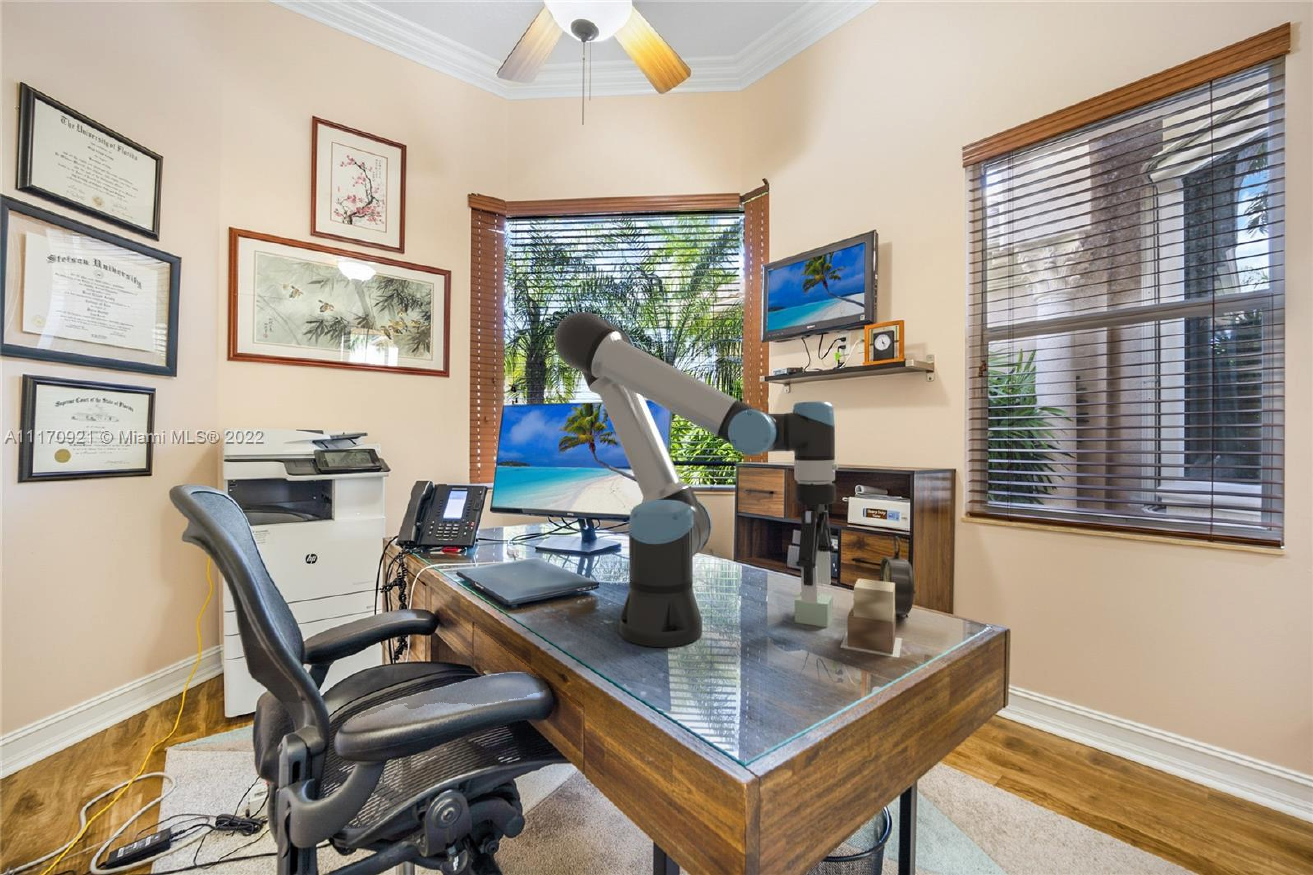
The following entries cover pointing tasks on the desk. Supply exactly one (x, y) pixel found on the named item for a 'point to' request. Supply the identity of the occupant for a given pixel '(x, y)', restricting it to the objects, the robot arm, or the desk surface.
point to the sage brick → (814, 611)
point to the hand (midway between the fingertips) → (816, 592)
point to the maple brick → (874, 600)
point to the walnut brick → (870, 633)
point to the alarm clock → (899, 580)
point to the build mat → (895, 652)
